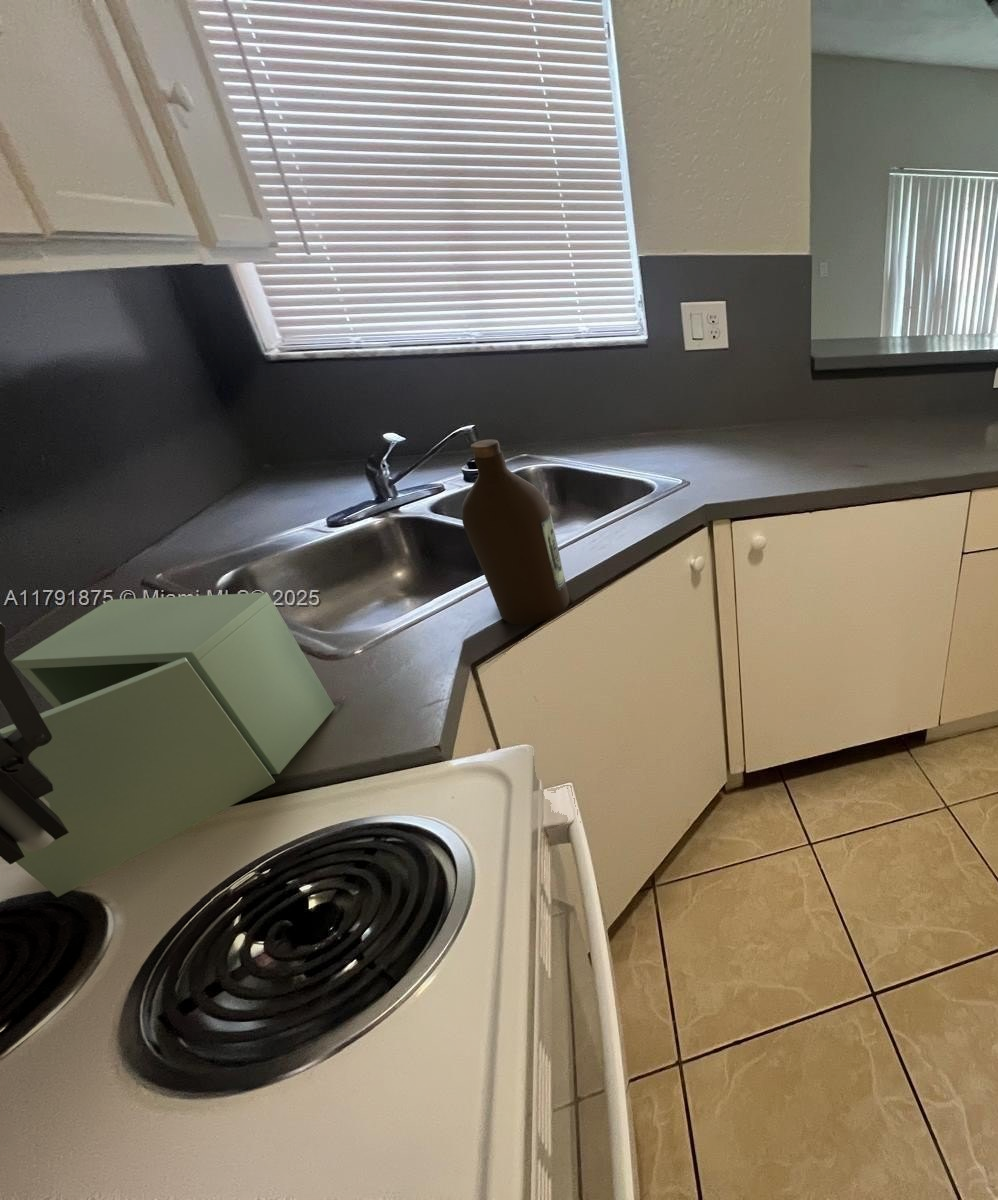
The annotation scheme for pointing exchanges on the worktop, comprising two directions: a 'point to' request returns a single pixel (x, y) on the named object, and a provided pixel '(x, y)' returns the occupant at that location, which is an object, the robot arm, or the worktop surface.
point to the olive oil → (513, 540)
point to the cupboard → (193, 662)
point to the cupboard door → (131, 774)
